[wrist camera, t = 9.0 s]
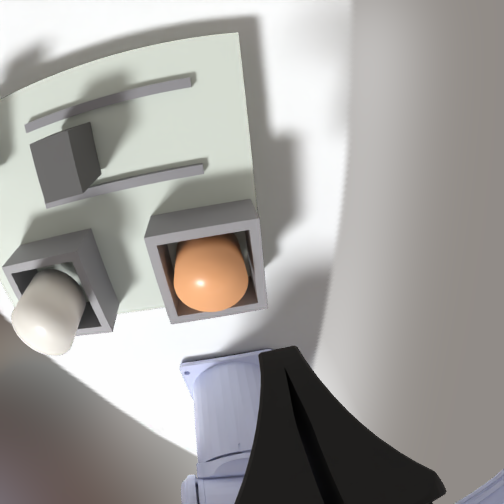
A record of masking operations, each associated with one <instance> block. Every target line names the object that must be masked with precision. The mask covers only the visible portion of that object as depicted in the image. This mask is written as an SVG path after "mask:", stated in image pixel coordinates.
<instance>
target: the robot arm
mask: <svg viewBox="0 0 504 504" xmlns="http://www.w3.org/2000/svg"><path fill="white" fill-rule="evenodd" d="M180 371H181V374H182V376H183V378H184V381H185V383H186V385H187V387H188V390H189V392H190V394H191V396H192V399H193V401H194V414H195V429H196V442H197V454H198V463H197V476H198V478H196V475H188V476H187V478H186V479H185V480H184V481H183V482H182V485H181V500H182V504H433V503H432V502H433V501H434V500H436V499H438V498H439V497H441V496H443V495H444V494H445V493H446V489H445V487H444V485H443V483H442V481H441V479H440V478H439V477H438V475H437V474H436V473H435V472H434V471H433V470H431V469H429V468H427V467H425V466H423V465H421V464H419V463H417V462H415V461H413V460H412V459H410V458H408V457H407V456H405V455H404V454H402V453H400V452H399V451H397V450H396V449H394V448H393V447H391V446H390V445H389V444H387V443H386V442H384V441H383V440H381V439H380V438H379V437H377V436H376V435H375V434H373V433H372V432H371V431H370V430H369V429H367V428H366V427H365V426H364V425H363V424H362V423H360V422H359V421H358V420H357V419H356V418H355V417H354V416H353V415H352V414H351V413H349V412H348V411H347V410H346V408H345V407H344V406H343V405H342V404H341V403H340V402H339V401H338V400H337V399H336V398H335V397H334V396H333V395H332V394H331V392H330V391H329V390H328V389H327V388H326V386H325V385H324V384H323V383H322V382H321V381H320V379H319V378H318V377H317V375H316V374H315V373H314V371H313V370H312V369H311V367H310V366H309V364H308V363H307V362H306V360H305V359H304V357H303V355H302V354H301V352H300V351H299V349H298V347H296V346H290V347H286V348H281V349H276V350H272V349H265V350H260V351H255V352H249V353H244V354H238V355H232V356H226V357H220V358H213V359H207V360H200V361H193V362H186V363H182V364H180ZM454 504H504V469H503V470H501V471H500V472H499V473H497V474H496V476H495V477H493V478H492V479H491V480H489V481H488V482H486V483H485V484H484V485H482V486H481V487H479V488H478V489H476V490H475V491H473V492H472V493H470V494H469V495H467V496H465V497H464V498H462V499H461V500H459V501H458V502H456V503H454Z"/></svg>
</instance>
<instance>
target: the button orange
mask: <svg viewBox="0 0 504 504" xmlns="http://www.w3.org/2000/svg"><path fill="white" fill-rule="evenodd" d="M247 287H248V274H247V270H246V267H245V263H244V259H243V255H242V252H241V248H240V244H239V241H238V239H237V237H236V236H235V235H234V233H227V234H221V235H215V236H209V237H203V238H197V239H191V240H185V241H180V242H178V244H177V249H176V260H175V272H174V288H175V291H176V294H177V296H178V297H179V298H180V300H181V301H182V302H183V303H184V304H186V305H187V306H189V307H190V308H193V309H195V310H198V311H203V312H217V311H222V310H225V309H227V308H230V307H231V306H233V305H235V304H236V303H237V302H238V301H239V300H240V299H241V298H242V297H243V296H244V294H245V292H246V290H247Z"/></svg>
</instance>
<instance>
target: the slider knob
mask: <svg viewBox="0 0 504 504" xmlns="http://www.w3.org/2000/svg"><path fill="white" fill-rule="evenodd" d="M29 145H30V149H31V153H32V157H33V161H34V165H35V169H36V173H37V176H38V180H39V183H40V187H41V190H42V193H43V197H44V200H45V203H46V204H47V203H50V202H54V201H57V200H61V199H65V198H68V197H72V196H76V195H80V194H83V193H84V192H85V191H86V190H87V189H88V188H89V187H90V186H91V185H92V184H93V183H94V181H95V180H96V179H97V178H98V177H99V176H100V175H101V174H102V173H101V169H100V165H99V160H98V156H97V151H96V147H95V142H94V138H93V133H92V128H91V123H90V122H87V123H84V124H81V125H78V126H75V127H71V128H68V129H65V130H62V131H60V132H57V133H54V134H52V135H49V136H47V137H45V138H42V139H40V140H38V141H36V142H33V143H31V144H29Z"/></svg>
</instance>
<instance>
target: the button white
mask: <svg viewBox="0 0 504 504" xmlns="http://www.w3.org/2000/svg"><path fill="white" fill-rule="evenodd" d="M85 306H86V299H85V295H84V292H83V290H82V288H81V287H80V285H79V284H78V283H77V282H76V281H75V280H74V279H73V278H72V277H71V276H69V275H68V274H66V273H64V272H62V271H60V270H56V269H44V270H41V271H39V272H38V273H37V274H36V275H35V276H34V277H33V279H32V280H31V282H30V284H29V285H28V287H27V288H26V290H25V292H24V293H23V295H22V296H21V298H20V300H19V301H18V303H17V305H16V307H15V308H14V310H13V312H12V316H11V320H12V325H13V328H14V330H15V332H16V333H17V335H18V336H19V337H20V339H21V340H22V341H23V342H24V343H25V344H26V345H28V346H29V347H31V348H32V349H34V350H35V351H37V352H40V353H42V354H45V355H50V356H60V355H63V354H65V353H67V352H68V351H69V350H70V348H71V346H72V343H73V340H74V337H75V334H76V331H77V328H78V326H79V323H80V320H81V317H82V315H83V312H84V309H85Z"/></svg>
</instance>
